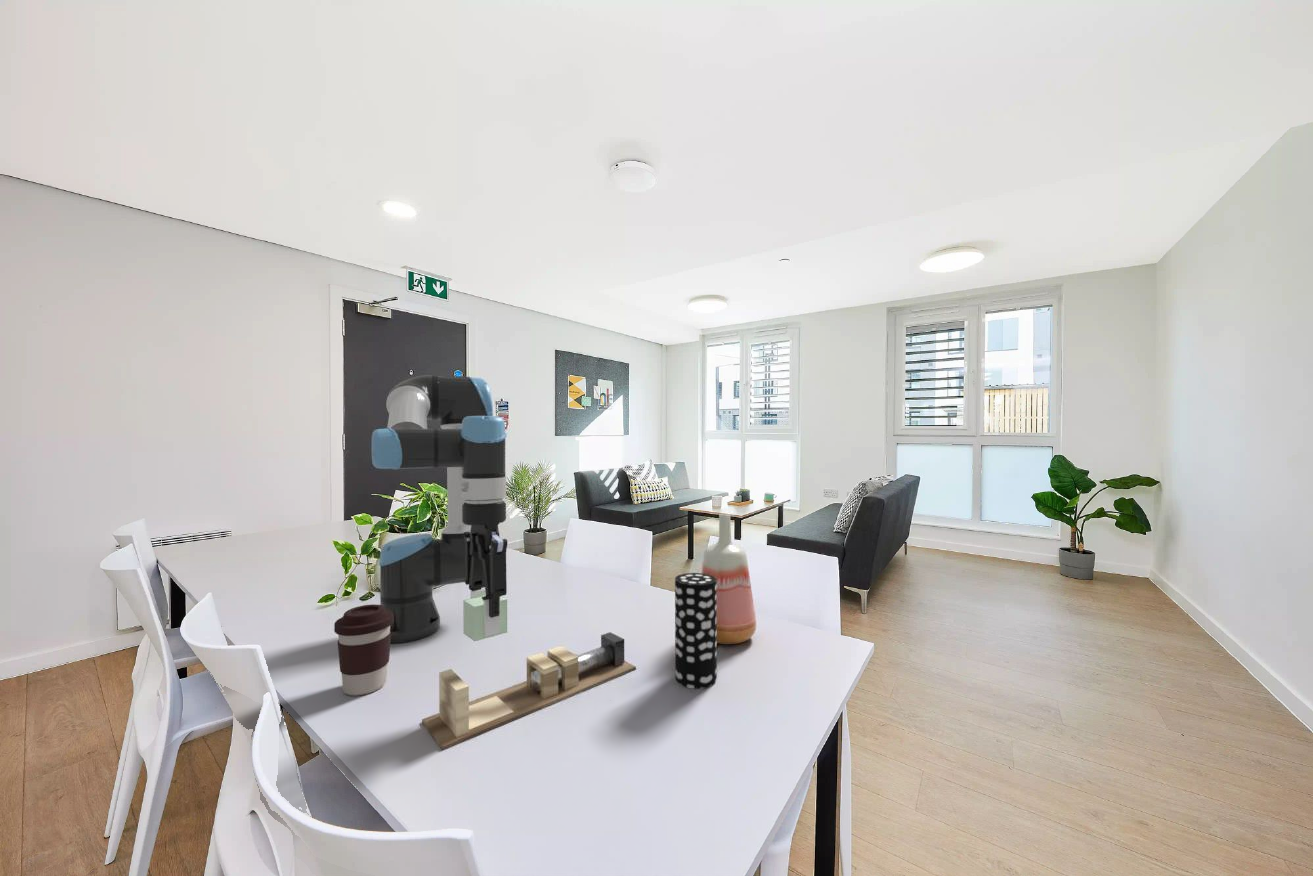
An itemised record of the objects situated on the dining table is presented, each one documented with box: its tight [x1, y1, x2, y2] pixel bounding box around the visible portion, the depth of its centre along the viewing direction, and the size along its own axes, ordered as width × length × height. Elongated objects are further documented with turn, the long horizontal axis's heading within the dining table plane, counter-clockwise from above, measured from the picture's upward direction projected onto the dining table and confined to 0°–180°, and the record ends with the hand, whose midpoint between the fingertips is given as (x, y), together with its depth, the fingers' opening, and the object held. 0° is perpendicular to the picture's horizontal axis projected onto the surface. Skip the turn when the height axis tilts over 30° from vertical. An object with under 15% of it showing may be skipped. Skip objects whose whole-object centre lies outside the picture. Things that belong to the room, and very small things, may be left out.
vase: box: [701, 513, 757, 645], centre depth 118 cm, size 14×14×30 cm
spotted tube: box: [674, 572, 718, 690], centre depth 98 cm, size 8×8×20 cm
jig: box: [421, 645, 637, 751], centre depth 93 cm, size 10×39×8 cm, turn 132°
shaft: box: [530, 632, 625, 691], centre depth 99 cm, size 5×19×5 cm, turn 132°
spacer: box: [462, 595, 508, 642], centre depth 89 cm, size 5×6×6 cm
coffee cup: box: [333, 604, 394, 696], centre depth 95 cm, size 10×10×15 cm
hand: (485, 629), depth 89 cm, fingers closed on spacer, 5 cm apart
